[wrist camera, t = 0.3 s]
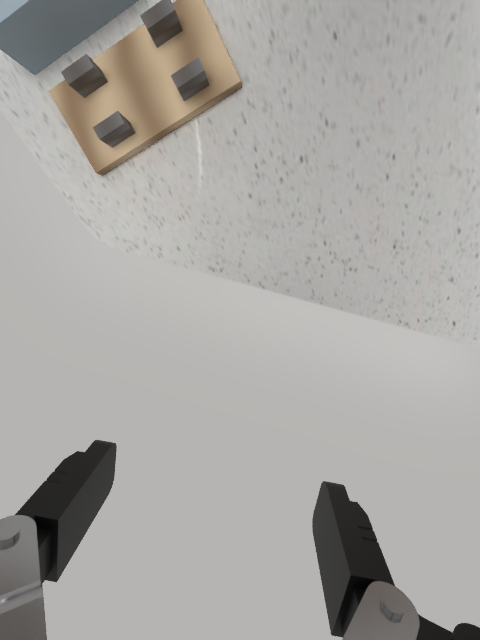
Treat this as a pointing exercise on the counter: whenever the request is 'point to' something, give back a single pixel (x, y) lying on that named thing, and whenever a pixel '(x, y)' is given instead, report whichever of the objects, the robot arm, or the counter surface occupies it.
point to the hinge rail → (146, 83)
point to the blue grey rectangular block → (51, 27)
